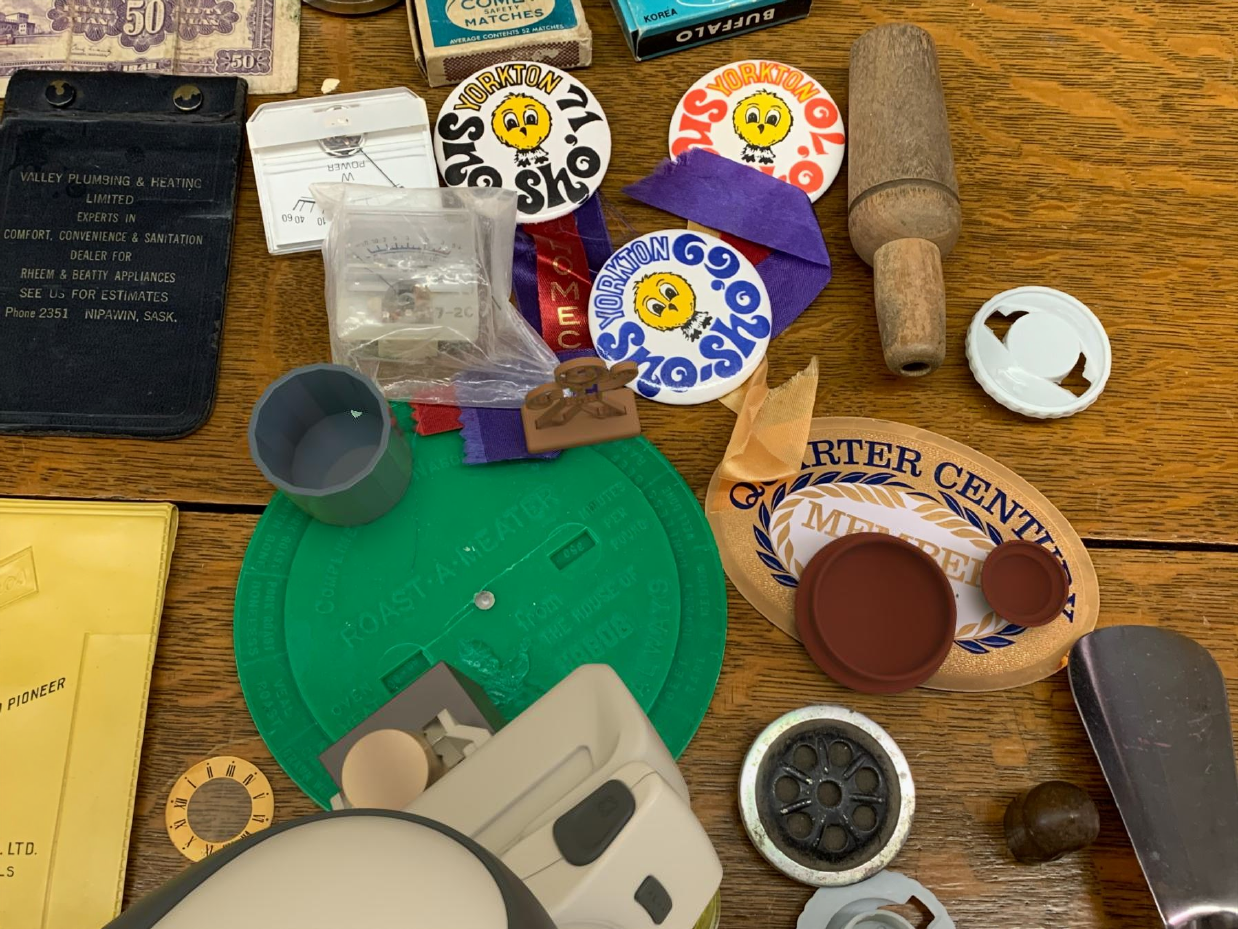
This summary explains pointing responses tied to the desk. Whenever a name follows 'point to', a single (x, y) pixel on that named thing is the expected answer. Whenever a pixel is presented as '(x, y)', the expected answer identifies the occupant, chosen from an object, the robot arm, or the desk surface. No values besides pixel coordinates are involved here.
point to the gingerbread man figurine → (581, 407)
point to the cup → (331, 444)
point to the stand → (421, 712)
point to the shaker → (390, 769)
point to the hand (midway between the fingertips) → (397, 760)
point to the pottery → (909, 606)
